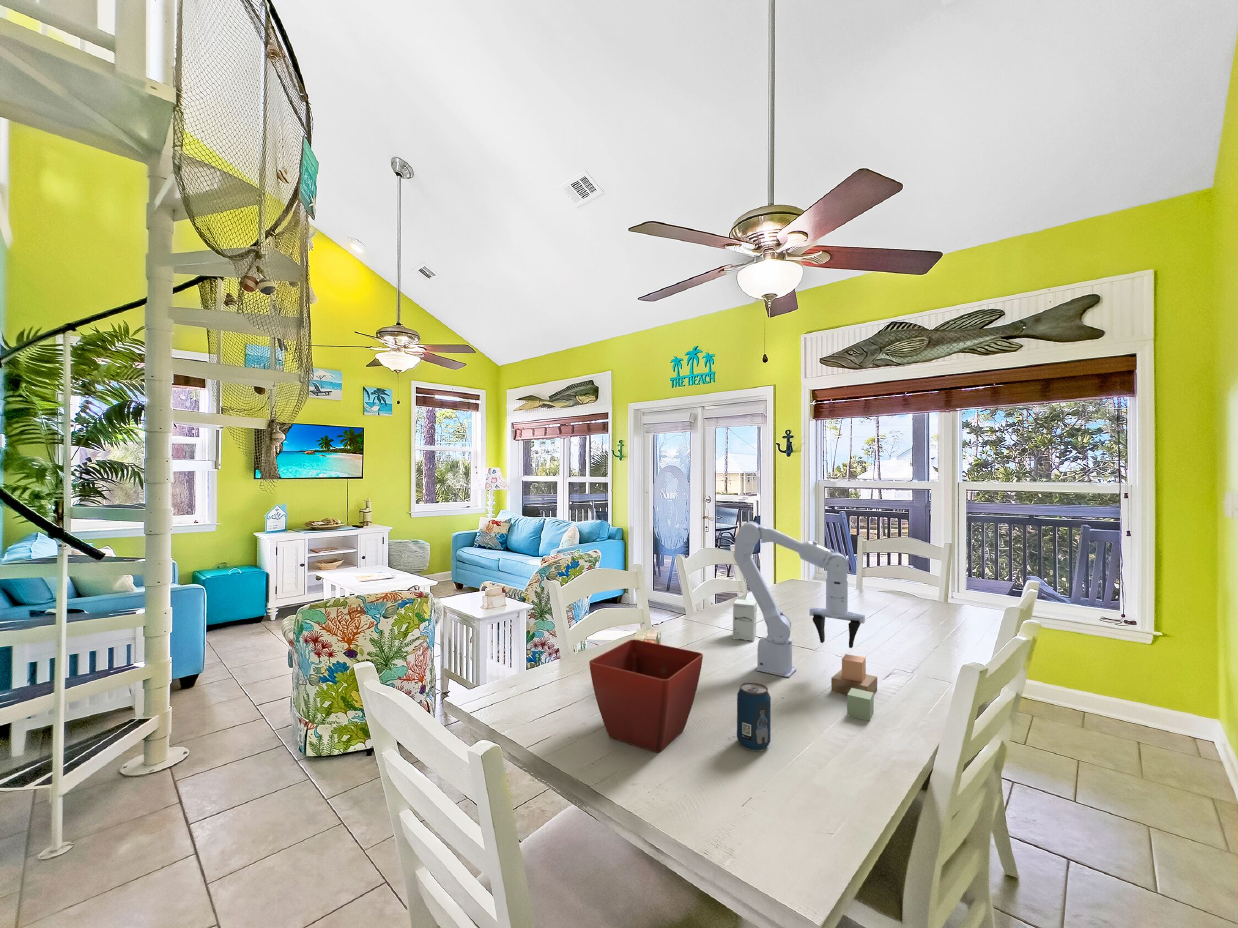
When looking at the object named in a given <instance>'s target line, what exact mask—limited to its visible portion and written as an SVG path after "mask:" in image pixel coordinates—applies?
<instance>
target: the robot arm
mask: <svg viewBox="0 0 1238 928" xmlns="http://www.w3.org/2000/svg"><path fill="white" fill-rule="evenodd" d="M760 540H761V541H760ZM759 541H760V542H761V544H762V543H763V544H764V543H773V544H774V543H775V544H776V545H779V546H782V547H783V548H785V549H788V550H791V551H794V552H795V553H798V555H799V558H800V559H801V560H803V561H804V562H805V561H806V562H807V563H810V564H812V565H814V566H816V567H818V568H820V569H826V580H825V608H821V607H820V608H819V607H810V608H809V611H808V612H809V616H810V617H812V618H811V619H812V622H813V624H814V626H815V627H816V631H817V633H818V637H819V643H820V644H824V642H825V638H826V635H825V624H826V623H825V622H826V618H828V619H834V620H835V619H836V620H842V621H848V622H849V623H848V637H849V638H848V648H849V649H852V648H853V647H854V642H855V638H856V635H857V633H858V630H859V629H860V626H861V624H865V623H866V615H865V614H860V613H857V612H856V613H855V612H852V611H851V612H850V611H848V608H849V607H848V606H849V605H848V601H849V600H848V598H849V597H848V594H849V593H848V591H849V590H848V588H849V585H848V584H849V583H848V581H849V580H847V579H848V571H849V569H850V565H849V562H848V559H847V558H846V556H844V555H843V554H842V553H841V552H839V551H835V550H834V549H833V548H830V549H828V548H826V547H824V546H822V545H819V544H818V543H819V542H818V541H816V540H813V541H810V540H807V541H804V542H802V541H800V540H798V539H795V538H794V537H791V536H790V535H788V534H785V533H783V532H782V531H779V530H777V529H775V528H773V527H771V526H767V525H765V524H759V523H757V522H756V521H747V522H745V523H744V524H743V525H741V526H740V527H739V529H738V531H737V533H736V535H735V543H734V551H733V558H734V560H735V562H736V564H737V567H738V568H739V570H740V572H741V574H742V576H743V578H744V580H745V582H746V584H747V586H748V589H749V590H750V591H751V593H752V596H753V598H754V599H755V601H757V606H758V607H759V608H760V612H761V614H762V616H763V621H764V622H765V624H766V633H767V635H766V637H763V636H762V637H760V638H759V640H758V643H757V661H756V662H757V668H756V671H758V672H762V673H767V674H770V675H772V674H773V675H775V676H780V677H786V678H790V677H791V676H792V675H793V674H794V673H795V672H796V670H797V667H795V666H793V638H791V629H792V622H791V620H790V618H789V617H788V616H787V615H786V614H784V612H783V611H782V610H781V608H780V606H779V605H778V604H777V602H776V600H775V599H774V597H773V595H772V593H771V591H770V588H769V587H768V585H767V583H766V582H765V580H764V577H763V575H762V574H761V572H760V570H759V568H758V566H757V564H756V562H755V561H754V558H753V556H752V555H753V553H754V550H755V547H756V545H757V544H758V542H759Z"/></svg>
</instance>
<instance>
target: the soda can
mask: <svg viewBox="0 0 1238 928" xmlns="http://www.w3.org/2000/svg"><path fill="white" fill-rule="evenodd" d="M738 689H739V690H738V692H737V694H736V698H737V699H736V701H737V702H736V738H737V741H738V742H739V744H740V746H741V747H742V748H744V749H745V750H747V751H751V750H754V751H753V752H762V751H764V750H766V749H767V748H768V746H769V745H770V744H771V733H772V732H771V731H772V730H771V726H772V725H771V720H772V719H771V718H772V717H771V716H772V715H771V711H772V710H771V705H772V704H771V702H772V701H771V700H772V699H771V694H770V692H769V689H768V687H767V686H766V685H764V684H761V683H758V682H743V683H741V684H740V686H739V688H738ZM761 750H762V751H761Z"/></svg>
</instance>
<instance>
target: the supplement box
mask: <svg viewBox="0 0 1238 928" xmlns="http://www.w3.org/2000/svg"><path fill="white" fill-rule="evenodd" d="M732 606H733V608H732V610H733V611H732V612H733V613H732V639H733V638H735V639H734V640H739V639H744V640H743V641H747V640H753V641H752V642H754V641H755V639H756V637H757V608H758V603H757V601H756V600H749V599H748V600H747V599H741V598H740V599H738V598H736V599H735V601H734V602H733V605H732Z"/></svg>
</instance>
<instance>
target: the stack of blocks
mask: <svg viewBox="0 0 1238 928" xmlns="http://www.w3.org/2000/svg"><path fill="white" fill-rule="evenodd" d="M661 634H662V633H661V631H659V630H658V629H643V628H642V629H639V628H637V629H636V632H635V635H634V636H633V639H635V640H641V641H646V642H651V643H656V644H660V645H662V640H661V636H662V635H661ZM633 639H632V640H633Z"/></svg>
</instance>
